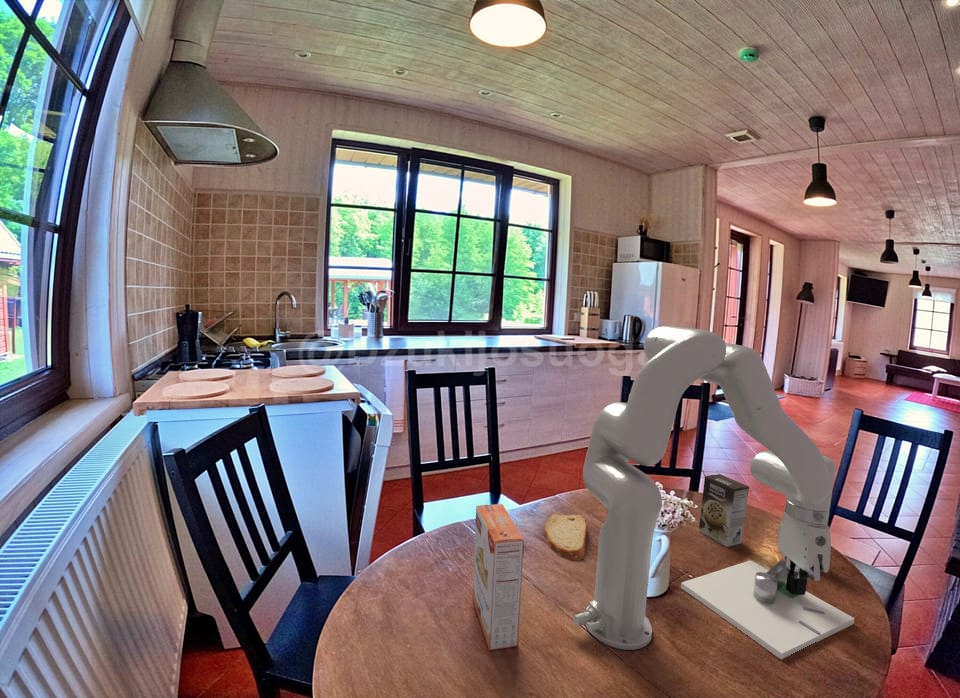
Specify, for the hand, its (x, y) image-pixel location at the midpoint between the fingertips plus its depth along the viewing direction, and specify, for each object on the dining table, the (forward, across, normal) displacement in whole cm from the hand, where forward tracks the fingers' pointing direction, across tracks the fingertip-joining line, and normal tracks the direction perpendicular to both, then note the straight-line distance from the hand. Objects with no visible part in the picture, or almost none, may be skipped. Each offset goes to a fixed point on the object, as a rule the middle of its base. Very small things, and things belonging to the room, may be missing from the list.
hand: (795, 592), depth 99 cm
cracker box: (+2, -11, +66) cm, 67 cm away
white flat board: (+2, -2, +8) cm, 8 cm away
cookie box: (+2, +26, +2) cm, 27 cm away
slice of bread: (+3, +23, +44) cm, 50 cm away
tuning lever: (0, +1, +4) cm, 5 cm away
